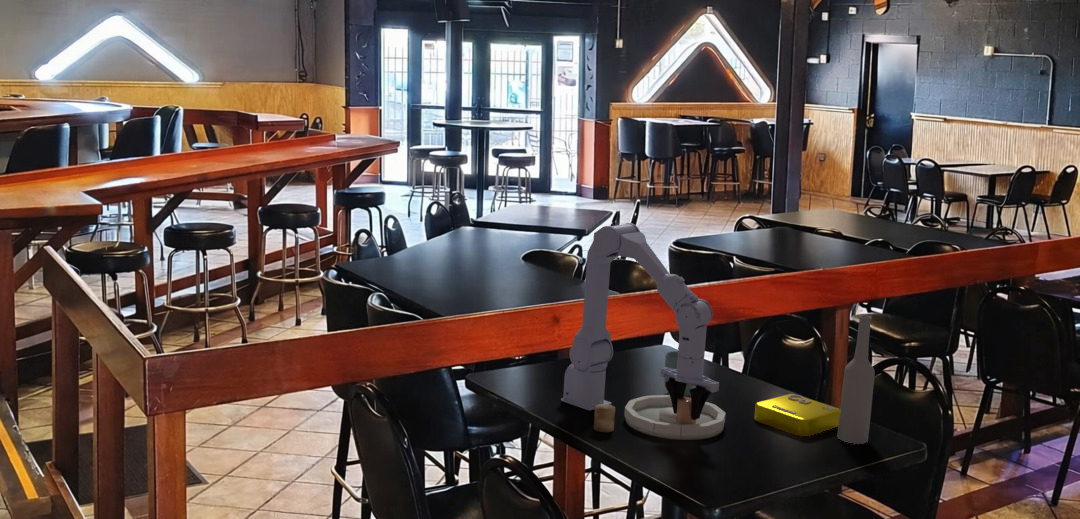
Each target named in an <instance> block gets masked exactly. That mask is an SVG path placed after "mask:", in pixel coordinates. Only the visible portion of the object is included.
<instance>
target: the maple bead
mask: <svg viewBox="0 0 1080 519" xmlns="http://www.w3.org/2000/svg"><path fill="white" fill-rule="evenodd" d="M615 415H616V407H615V406H614V405H612V404H611V405H609V404H598V405H596V406H595V409H594V419H593V430H595V431H596V432H600V433H612V432H613V431H614V430H615V429H614V428H615Z"/></svg>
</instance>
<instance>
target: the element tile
mask: <svg viewBox="0 0 1080 519" xmlns="http://www.w3.org/2000/svg"><path fill="white" fill-rule="evenodd" d="M754 405H755V406H754V418H753V419H754V421H756V422H758V423H761V424H763V425H767V426H770V427H772V428H774V429H777V430H780V431H783V432H786V433H789V434H791V433H792V435H794V434H795V435H794V436H797V435H800V436H799V437H802V436H809V437H811V435H812V436H815V435H814V434H816V435H818V434H817V433H819V434H822V433H824V432H823V431H826V430H829V429H832V428H835V427H838V423H839V414H840V407H835V406H832V405H830V404H826V403H822V402H819V401H817V400H814V399H810V398H808V397H804V396H802V395H799V394H794V393H789V394H785V395H781V396H777V397H771V398H768V399H765V400H760V401H758V402H756V403H755V404H754ZM832 430H833V429H832ZM829 431H830V430H829ZM821 432H822V433H821ZM826 432H827V431H826Z"/></svg>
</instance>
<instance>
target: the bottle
mask: <svg viewBox="0 0 1080 519" xmlns="http://www.w3.org/2000/svg"><path fill="white" fill-rule="evenodd" d="M858 318H859V320H858V327H857V328H858V331H857V340H856V344H855V345H856V346H855V352H854V357H853V359H852V360H851V361H849V362H848V363H847V364H846V366H845V368H844V373H843V381H842V390H841V397H840V407H839V409H840V414H839V423H838V428H837V435H836V438H837V437H838V438H837V439H840V440H842V441H844V442H843V443H845V442H848V443H847V444H849V443H853V444H852V445H855V444H858V445H859V444H862V445H865V444H864V443H866V442H867V443H868V442H869V434H870V433H869V432H870V424H871V415H872V405H873V394H874V385H875V384H874V383H875V373H876V371H875V369H874V367H873V366H872V364H871V362H870V361H869V346H870V345H869V344H870V343H869V342H870V334H871V324H872V323H871V322H872V320H873V317H872V316H871V315H868V314H867V315H865V314H860V315H859V316H858ZM840 440H839V441H840ZM842 441H841V442H842ZM867 443H866V444H867Z"/></svg>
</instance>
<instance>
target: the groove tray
mask: <svg viewBox="0 0 1080 519" xmlns="http://www.w3.org/2000/svg"><path fill="white" fill-rule="evenodd" d="M623 416H624V418H625V422H626V424H627V425H628V426H629V427H630V428H632V429H633V430H635V431H638V432H639V433H642V434H644V435H647V436H648V435H649V436H652V437H658V438H663V439H669V440H678V441H679V440H680V441H693V440H694V441H695V440H698V441H699V440H705V439H711V438H713V437H716V436H718V435H720V434H721V433H722V432H723V431H724V426H725V422H726V412H725V411H724V410H723V409H721V408H720V407H719V406H717V405H716V404H714V403H712V402H707V401H706V402H705V404H704V407H703V409H702V412H701V415H700V418H699V419H696V424H686V425H682V424H679V423H677V422H676V414H674V412H673V406H672V401H671V398H670V394H662V395H661V394H659V395H657V394H656V395H655V394H654V395H653V394H652V395H644V396H643V395H642V396H640V397H637V398H632V399H630V400H629V401H628V402H627V404H626V405H625V406H624V415H623Z"/></svg>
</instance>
